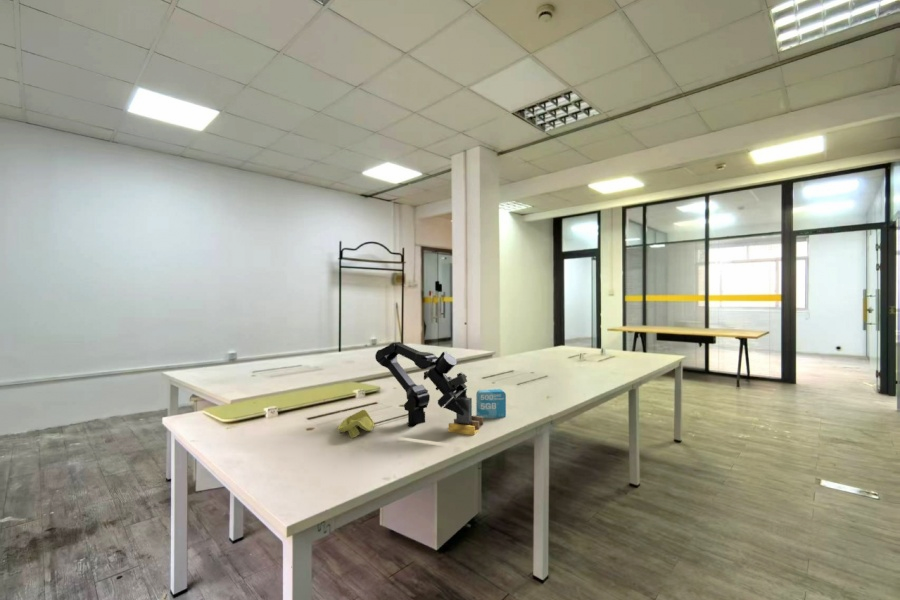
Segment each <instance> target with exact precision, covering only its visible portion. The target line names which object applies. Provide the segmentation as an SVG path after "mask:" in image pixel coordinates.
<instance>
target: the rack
mask: <svg viewBox="0 0 900 600" xmlns="http://www.w3.org/2000/svg"><path fill="white" fill-rule="evenodd" d="M483 425H484V418H483V417H479V416H477V415H472V426H470V425H461V424H456V418H453V423H450V422H449V423H448V432H449V433H453V434H461V435H462V434H463V435H471V436H475V435H476V434H477V432H478V431H479V430H480V429H481V428H482V427H483Z"/></svg>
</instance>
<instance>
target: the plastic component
mask: <svg viewBox="0 0 900 600" xmlns="http://www.w3.org/2000/svg"><path fill="white" fill-rule="evenodd" d="M374 426H375V423H374V421H373V418H372V417H371V416H370V414H369V413H368V411H367V410H366V409H361V410H360V411H357V412H355V413H354V414H352V415H350V416H348V417H346V418H344V419H343V420H342V422H341V423H340V424H339V425H338V427H337V430H338V432H340V433H346V432H348V435H349V436H350V438H351V437H352V438H353V439H354V438H356V437H358V435H360V431H359V428H360V429H362V430H364V431H365V432H371V431H372V430H373V428H374ZM358 427H359V428H358ZM352 438H351V439H352Z"/></svg>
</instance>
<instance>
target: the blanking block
mask: <svg viewBox="0 0 900 600" xmlns="http://www.w3.org/2000/svg"><path fill="white" fill-rule="evenodd" d="M456 398H457V397H456ZM457 403H458V404H459V406H460V407H461V409H462V410H463V412H464V413H465V414H464V415H463V416H462V415H460V414H458V413H456V414H455V415H456V417H455V419H456V424H461V425H470V426H472V416H473V415H472V414H473V412H472V411H473V409H472V408H473V404H472V403H473V401H472V397H467V398H466V397H459V398H457Z"/></svg>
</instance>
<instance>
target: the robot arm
mask: <svg viewBox="0 0 900 600" xmlns="http://www.w3.org/2000/svg"><path fill="white" fill-rule="evenodd" d="M398 355H400V356H402V357H404V358H406V359H408V360H410V361H412V362H413V363H414V365H415V366H416V367H418V368H419V369H420V370H426V371H424V372H423V380H427V379H428V378H429V380H430V381H431V382H432V383H433V385H434V386H435V390H436V391H439V392H440V393H441V394H442V396H441V397H440V398H439V399H437V405H438V406H439V407H440V408H443V409H445V410H448V411H451V412H454V413H458V414H460V415H462V416H463V415H464V414H465V413H464V412H463V410H462V409H461V407H460V406H459V404H458V403H457V398H459V397H466V398H468V395H467V390H468V388H467V387H468V386H467V385H466V383H467V382H468V380H467V375H466V374H465V373H463V372H462V371H461V372H459V373H457V374H456V377H453V378H452V377H451V376H447V374H448V373H449V372H450V371H451V370H452V369H453V368H454V367H455V365H457V362H458V361H457V359H456V357H455V356H453V355H452V354H451V353H448V352H447V351H442V352H441V353H440V355H439V356H438V357H437V356H436V354H435V353H433V352H432V353H431V352H425V351H420V350H417V349H415V348H413V347H411V346H408V345H406V344H404V343H403V342H402V341H401V342H400V341H394V342H392V343H390V344H389V345H387V346H384V347H383V348H380V349H378V350H377V351H376V353H375V355H374V356H375V357H374V358H375V360H376V362H377V363H378V364H379V365H380V366H381V367H384V368H386V369H388V371H389V372H390V373H391V375H392V376H393V377H394V378H395V379H396V380H397V382H398V383H399V385H400V386H401V387H402V388H403V390H404V391H405V392H406V400H407V401H406V402H405V403H404V404H403V408H404V410H405V411H406V412H408V413H407V417H408V418H407V427H416V426H417V425H419V424H424V423H426V411H425V409H427V408H428V405H429V403H430V398H431V397H430V394H429V390H428V389H426V387H425V386H424V384H418V385H417V384H416V383H415V382H414V381H413V379H412V378H411V377H410V375H409V374H408V373H407V372H406V371H405V369H404V368H403V367H402V366H401V364H400V363H399V362H398ZM427 369H428V370H427Z"/></svg>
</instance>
